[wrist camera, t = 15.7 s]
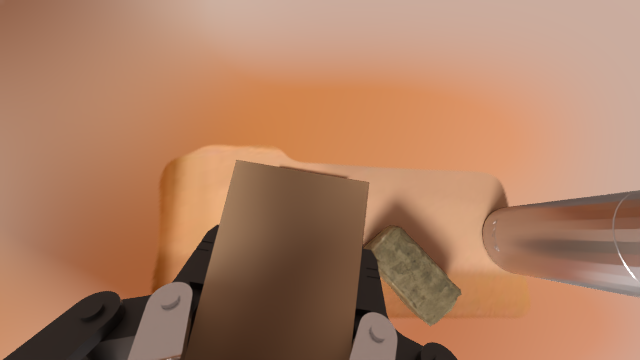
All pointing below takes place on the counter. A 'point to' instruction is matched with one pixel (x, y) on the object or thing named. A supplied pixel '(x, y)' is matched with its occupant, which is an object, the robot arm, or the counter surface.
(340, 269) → the walnut block
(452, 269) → the counter surface
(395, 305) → the counter surface
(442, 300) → the stone block
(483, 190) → the counter surface
